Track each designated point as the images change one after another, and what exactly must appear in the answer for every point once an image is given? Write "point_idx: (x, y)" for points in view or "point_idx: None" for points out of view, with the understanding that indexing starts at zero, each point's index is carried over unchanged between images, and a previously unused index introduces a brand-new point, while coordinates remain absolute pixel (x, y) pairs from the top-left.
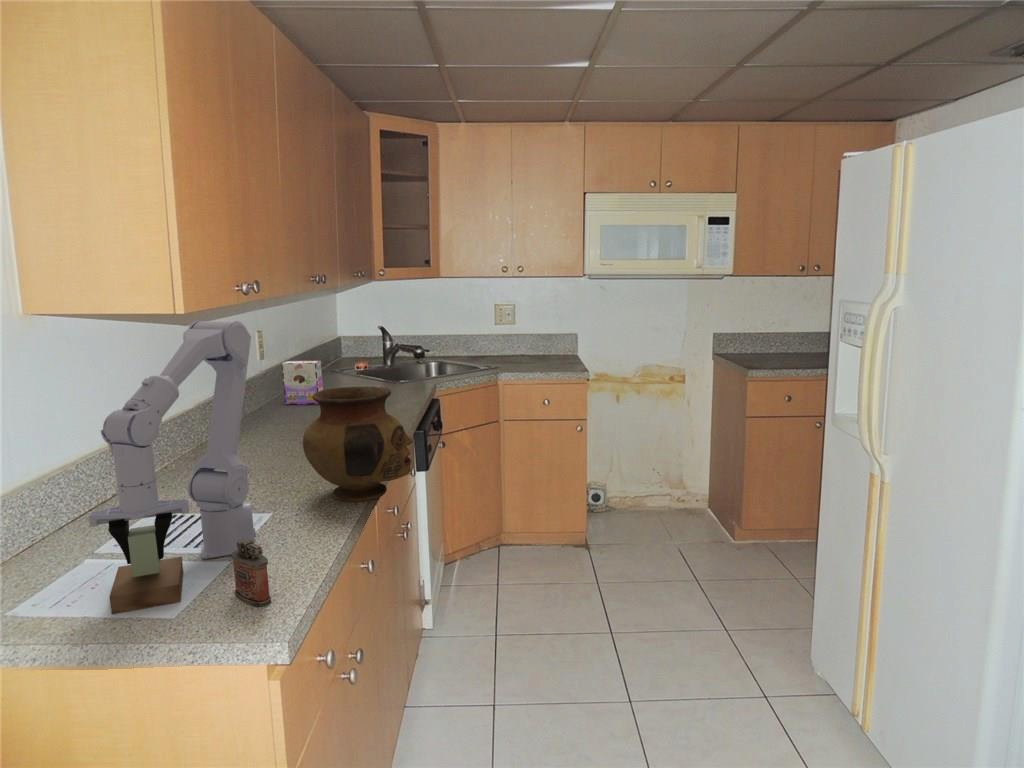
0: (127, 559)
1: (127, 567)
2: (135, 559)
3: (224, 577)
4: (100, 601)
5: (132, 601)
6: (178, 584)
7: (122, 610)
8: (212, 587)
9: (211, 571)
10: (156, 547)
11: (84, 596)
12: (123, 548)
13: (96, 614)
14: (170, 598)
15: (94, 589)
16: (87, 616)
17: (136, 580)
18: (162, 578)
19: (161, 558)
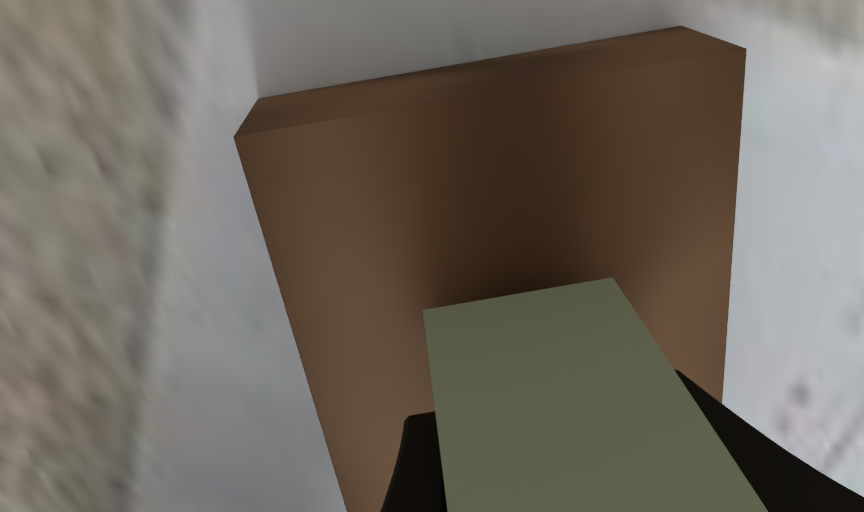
0: (697, 389)
1: None
2: (627, 370)
3: (84, 372)
4: (758, 230)
5: (567, 60)
6: (238, 139)
7: (620, 37)
8: (109, 258)
9: (199, 455)
10: (445, 471)
11: (841, 310)
12: (786, 462)
13: (772, 54)
14: (316, 97)
15: (794, 376)
16: (823, 40)
17: None
18: (401, 277)
19: (416, 416)
